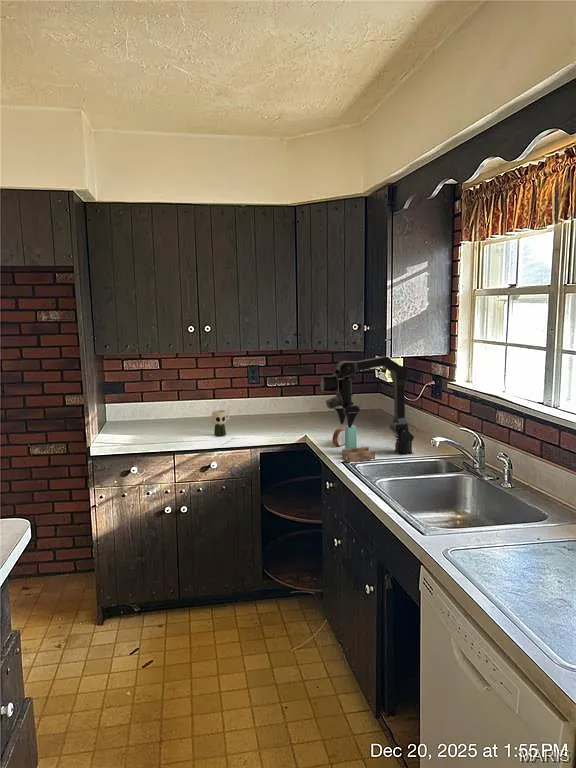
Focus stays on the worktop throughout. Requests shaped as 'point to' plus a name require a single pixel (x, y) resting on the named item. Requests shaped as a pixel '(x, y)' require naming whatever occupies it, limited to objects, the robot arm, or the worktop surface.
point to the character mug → (219, 421)
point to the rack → (357, 454)
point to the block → (350, 437)
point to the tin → (339, 436)
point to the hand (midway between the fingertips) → (345, 425)
